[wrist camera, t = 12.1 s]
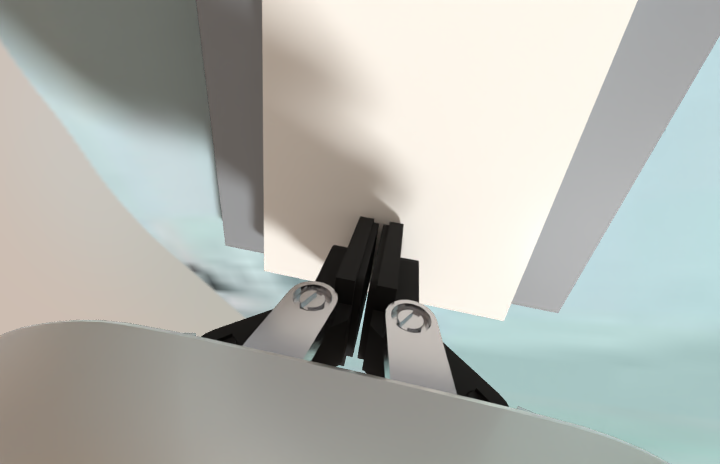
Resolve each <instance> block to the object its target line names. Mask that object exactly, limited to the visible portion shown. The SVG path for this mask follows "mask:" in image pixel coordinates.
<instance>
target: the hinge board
mask: <svg viewBox="0 0 720 464" xmlns="http://www.w3.org/2000/svg"><path fill="white" fill-rule="evenodd" d="M196 4H197V13H198V21H199V29H200V38H201V46H202V54H203V62H204V71H205V79H206V87H207V96H208V104H209V112H210V120H211V129H212V137H213V145H214V153H215V162H216V170H217V178H218V187H219V195H220V203H221V211H222V220H223V228H224V236H225V245H226V246H230V247H235V248H240V249H245V250H250V251H255V252H260V253H264V185H263V56H262V0H196ZM719 36H720V0H638V1H637V3H636V6H635V8H634V11H633V13H632V15H631V18H630V20H629V23H628V25H627V27H626V30H625V32H624V34H623V37H622V39H621V42H620V44H619V46H618V49H617V51H616V54H615V56H614V58H613V61H612V63H611V66H610V68H609V70H608V73H607V75H606V78H605V80H604V82H603V85H602V87H601V90H600V92H599V94H598V97H597V99H596V101H595V104H594V106H593V109H592V111H591V113H590V116H589V118H588V121H587V123H586V125H585V128H584V130H583V133H582V135H581V137H580V140H579V142H578V145H577V147H576V149H575V152H574V154H573V157H572V159H571V161H570V164H569V166H568V168H567V171H566V173H565V176H564V178H563V180H562V183H561V185H560V188H559V190H558V192H557V195H556V197H555V200H554V202H553V204H552V207H551V209H550V212H549V214H548V216H547V219H546V221H545V223H544V226H543V228H542V231H541V233H540V235H539V238H538V240H537V243H536V245H535V247H534V250H533V252H532V255H531V257H530V259H529V262H528V264H527V267H526V269H525V271H524V274H523V276H522V279H521V281H520V283H519V286H518V288H517V290H516V293H515V295H514V298H513V300H512V302H511V304H516V305H521V306H526V307H530V308H535V309H540V310H545V311H550V312H555V313H558V312H559V311H560V309H561V307H562V306H563V304H564V302H565V300H566V299H567V297H568V295H569V294H570V292H571V290H572V288H573V287H574V285H575V283H576V281H577V280H578V278H579V276H580V275H581V273H582V271H583V269H584V268H585V266H586V264H587V263H588V261H589V259H590V257H591V256H592V254H593V252H594V251H595V249H596V247H597V245H598V244H599V242H600V240H601V239H602V237H603V235H604V233H605V232H606V230H607V228H608V227H609V225H610V223H611V221H612V220H613V218H614V216H615V215H616V213H617V211H618V209H619V208H620V206H621V204H622V203H623V201H624V199H625V197H626V196H627V194H628V192H629V191H630V189H631V187H632V185H633V184H634V182H635V180H636V178H637V177H638V175H639V173H640V172H641V170H642V168H643V166H644V165H645V163H646V161H647V160H648V158H649V156H650V154H651V153H652V151H653V149H654V148H655V146H656V144H657V142H658V141H659V139H660V137H661V136H662V134H663V132H664V130H665V129H666V127H667V125H668V124H669V122H670V120H671V118H672V117H673V115H674V113H675V112H676V110H677V108H678V106H679V105H680V103H681V101H682V100H683V98H684V96H685V94H686V93H687V91H688V89H689V87H690V86H691V84H692V82H693V81H694V79H695V77H696V75H697V74H698V72H699V70H700V69H701V67H702V65H703V63H704V62H705V60H706V58H707V57H708V55H709V53H710V51H711V50H712V48H713V46H714V45H715V43H716V41H717V39H718V38H719Z"/></svg>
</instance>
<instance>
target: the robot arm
mask: <svg viewBox="0 0 720 464" xmlns="http://www.w3.org/2000/svg"><path fill="white" fill-rule="evenodd" d="M403 227H404V224H401V223H395V222H389V225H385V224H383V228H382V232H381V237H380V241H379V245H378V250H377V254H376V258H375V263H374V267H373V271H372V264H373V258H374V252H375V246H376V240H377V234H378V228H379V223H374V219H373V218H367V217H362V216H360V218H359V220H358V223H357V225H356V228H355V230H354V233H353V235H352V238H351V240H350V243H349V245H348V247H344V246H338V245H333V246H332V248H331V250H330V252H329V254H328V256H327V258H326V260H325V262H324V264H323V266H322V268H321V270H320V272H319V274H318V276H317V278H316V280H315V281H308V282H303V283H300V284H298V285H295V286H294V287H293V288H292V289H290V290H289V292H288V293H287V294H286V295H285V296H284V297H283V299H282V300H281V301H280V302H279V303H278V304H277V306H276V307H275V308H274V309H272V310H269V311H266V312H264V313H261V314H258V315H255V316H252V317H249V318H246V319H243V320H241V321H238V322H235V323H232V324H229V325H226V326H223V327H220V328H218V329H215V330H212V331H210V332H208V333H206V334H204V335H203V336H201V337H199V336H196V334H195V333H180V332H175V331H170V330H165V329H159V328H153V327H148V326H142V325H137V324H131V323H125V322H115V321H106V320H71V321H59V322H49V323H42V324H36V325H31V326H27V327H22V328H19V329H16V330H13V331H10V332H7V333H4V334H2V335H0V464H670V463H668V462H666V461H665V460H663V459H661V458H659V457H657V456H655V455H653V454H651V453H650V452H648V451H646V450H644V449H641V448H639V447H637V446H634V445H632V444H630V443H627V442H625V441H623V440H620V439H618V438H616V437H613V436H610V435H607V434H604V433H601V432H598V431H596V430H593V429H590V428H587V427H584V426H580V425H577V424H573V423H569V422H565V421H562V420H558V419H554V418H551V417H547V416H543V415H540V414H536V413H533V412H531V411H529V410H526V409H524V408H522V407H519V406H518V407H517V408H516V409H515V408H511V407H509V406H508V404H507V402H506V401H505V400H504V399H503V398H502V397H501V396H500V394H499V393H498V392H496V391H495V390H494V389H493V388H492V387H491V386H490V385H489V384H488V383H487V382H486V381H485V380H483V379H482V378H481V377H480V376H479V375H478V374H477V373H476V372H475V371H474V370H473V369H471V368H470V367H469V366H468V365H467V364H466V363H465V362H464V361H463V360H462V359H461V358H459V357H458V356H457V355H456V354H455V353H454V352H453V351H452V350H451V349H450V348H449V347H447V346H446V345H445V344H444V343H443V341H442V338H441V334H440V330H439V327H438V323H437V319H436V317H435V315H434V314H433V312H432V311H431V310H430V309H429V308H427V307H426V306H424V305H423V304H421V303H419V261H418V260H413V259H407V258H402V257H401V247H402V237H403ZM371 271H372V276H371ZM370 277H371V280H370ZM369 283H370V285H369ZM368 288H369V291H368ZM367 292H368V297H367V303H366V309H365V315H364V321H363V327H362V334H361V340H360V346H359V352H358V358H359V359H364V362H363V367H362V370H363V371H365V372H366V373H367V374H365V373H361V372H356V371H352V370H348V369H343V368H339V367H336V366H338V365H341V366H344V363H345V359H346V356H350V357H353V353H354V348H355V344H356V340H357V335H358V331H359V327H360V322H361V318H362V314H363V309H364V305H365V301H366V296H367Z"/></svg>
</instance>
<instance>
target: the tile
mask: <svg viewBox="0 0 720 464" xmlns="http://www.w3.org/2000/svg"><path fill="white" fill-rule="evenodd" d="M637 1H638V0H262V56H263V185H264V271H267V272H272V273H277V274H282V275H286V276H291V277H296V278H301V279H305V280H310V281H315V280H316V278H317V276H318V274H319V272H320V270H321V268H322V266H323V264H324V262H325V260H326V258H327V256H328V254H329V252H330V250H331V248H332V246H333V245H338V246H344V247H348V245H349V243H350V240H351V238H352V235H353V233H354V230H355V228H356V225H357V223H358V220H359V218H360V216H362V217H367V218H373V219H374V223H379V228H378V234H377V240H376V246H375V252H374V258H373V264H372V271H373V267H374V263H375V258H376V254H377V250H378V245H379V241H380V237H381V232H382V228H383V224H385V225H389V222H395V223H401V224H404V227H403V237H402V247H401V257H402V258H407V259H413V260H418V261H419V303H421V304H425V305H430V306H434V307H439V308H444V309H449V310H454V311H458V312H463V313H468V314H473V315H477V316H482V317H487V318H492V319H497V320H501V321H504V319H505V317H506V314H507V312H508V310H509V307H510V305H511V302H512V300H513V298H514V295H515V293H516V290H517V288H518V286H519V283H520V281H521V279H522V276H523V274H524V271H525V269H526V267H527V264H528V262H529V259H530V257H531V255H532V252H533V250H534V247H535V245H536V243H537V240H538V238H539V235H540V233H541V231H542V228H543V226H544V223H545V221H546V219H547V216H548V214H549V212H550V209H551V207H552V204H553V202H554V200H555V197H556V195H557V192H558V190H559V188H560V185H561V183H562V180H563V178H564V176H565V173H566V171H567V168H568V166H569V164H570V161H571V159H572V157H573V154H574V152H575V149H576V147H577V145H578V142H579V140H580V137H581V135H582V133H583V130H584V128H585V125H586V123H587V121H588V118H589V116H590V113H591V111H592V109H593V106H594V104H595V101H596V99H597V97H598V94H599V92H600V90H601V87H602V85H603V82H604V80H605V78H606V75H607V73H608V70H609V68H610V66H611V63H612V61H613V58H614V56H615V54H616V51H617V49H618V46H619V44H620V42H621V39H622V37H623V34H624V32H625V30H626V27H627V25H628V23H629V20H630V18H631V15H632V13H633V11H634V8H635V6H636V3H637ZM372 271H371V276H372ZM370 280H371V277H370ZM369 285H370V283H369ZM368 291H369V288H368Z"/></svg>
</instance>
